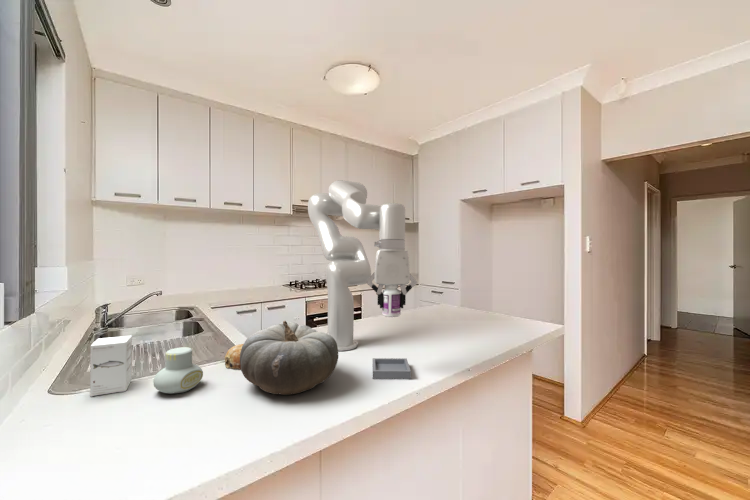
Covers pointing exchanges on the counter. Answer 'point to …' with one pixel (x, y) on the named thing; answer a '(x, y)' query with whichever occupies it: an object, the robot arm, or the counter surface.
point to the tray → (391, 368)
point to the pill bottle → (391, 301)
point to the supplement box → (110, 365)
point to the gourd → (288, 358)
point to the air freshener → (178, 372)
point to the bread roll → (233, 357)
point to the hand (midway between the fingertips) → (391, 306)
